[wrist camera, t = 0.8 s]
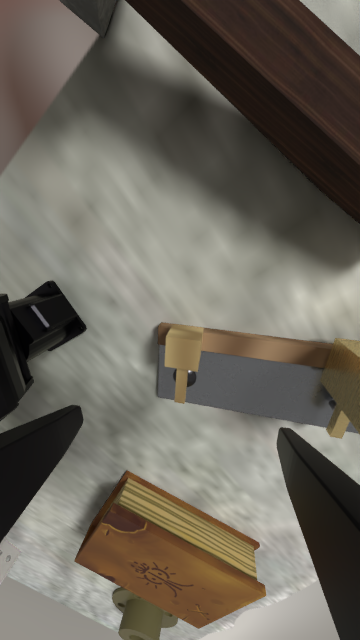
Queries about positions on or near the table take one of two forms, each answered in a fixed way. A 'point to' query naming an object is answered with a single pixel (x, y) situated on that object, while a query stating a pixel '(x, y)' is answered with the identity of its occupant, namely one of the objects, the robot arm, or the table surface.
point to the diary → (171, 553)
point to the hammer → (269, 76)
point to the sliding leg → (343, 385)
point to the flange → (140, 617)
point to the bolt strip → (253, 387)
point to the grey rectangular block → (6, 549)
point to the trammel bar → (231, 349)
